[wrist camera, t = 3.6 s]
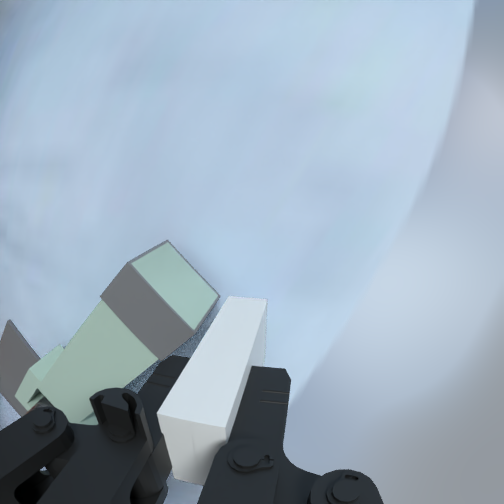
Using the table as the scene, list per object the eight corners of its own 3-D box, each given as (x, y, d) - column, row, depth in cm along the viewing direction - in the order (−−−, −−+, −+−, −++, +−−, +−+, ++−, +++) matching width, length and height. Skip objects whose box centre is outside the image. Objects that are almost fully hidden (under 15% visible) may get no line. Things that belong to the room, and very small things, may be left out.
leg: (88, 423, 18) (66, 451, 15) (40, 373, 17) (13, 396, 14) (235, 311, 13) (214, 352, 10) (153, 224, 13) (110, 242, 10)
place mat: (-9, 376, 21) (-11, 378, 21) (10, 319, 17) (7, 321, 17) (72, 463, 22) (71, 465, 22) (120, 439, 18) (119, 442, 18)
